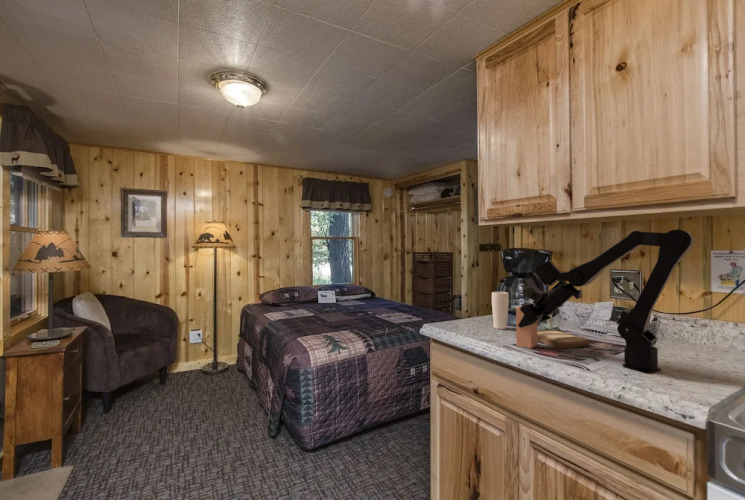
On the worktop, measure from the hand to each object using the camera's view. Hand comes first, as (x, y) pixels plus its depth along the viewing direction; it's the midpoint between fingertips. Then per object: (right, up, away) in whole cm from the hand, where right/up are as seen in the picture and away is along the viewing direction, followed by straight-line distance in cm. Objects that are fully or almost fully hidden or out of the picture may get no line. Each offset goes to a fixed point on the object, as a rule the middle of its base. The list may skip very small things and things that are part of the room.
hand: (522, 325), depth 120 cm
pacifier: (+22, -7, +23) cm, 33 cm away
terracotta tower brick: (+1, -7, -1) cm, 7 cm away
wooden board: (+14, -7, +5) cm, 16 cm away
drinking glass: (+1, -7, +25) cm, 26 cm away
